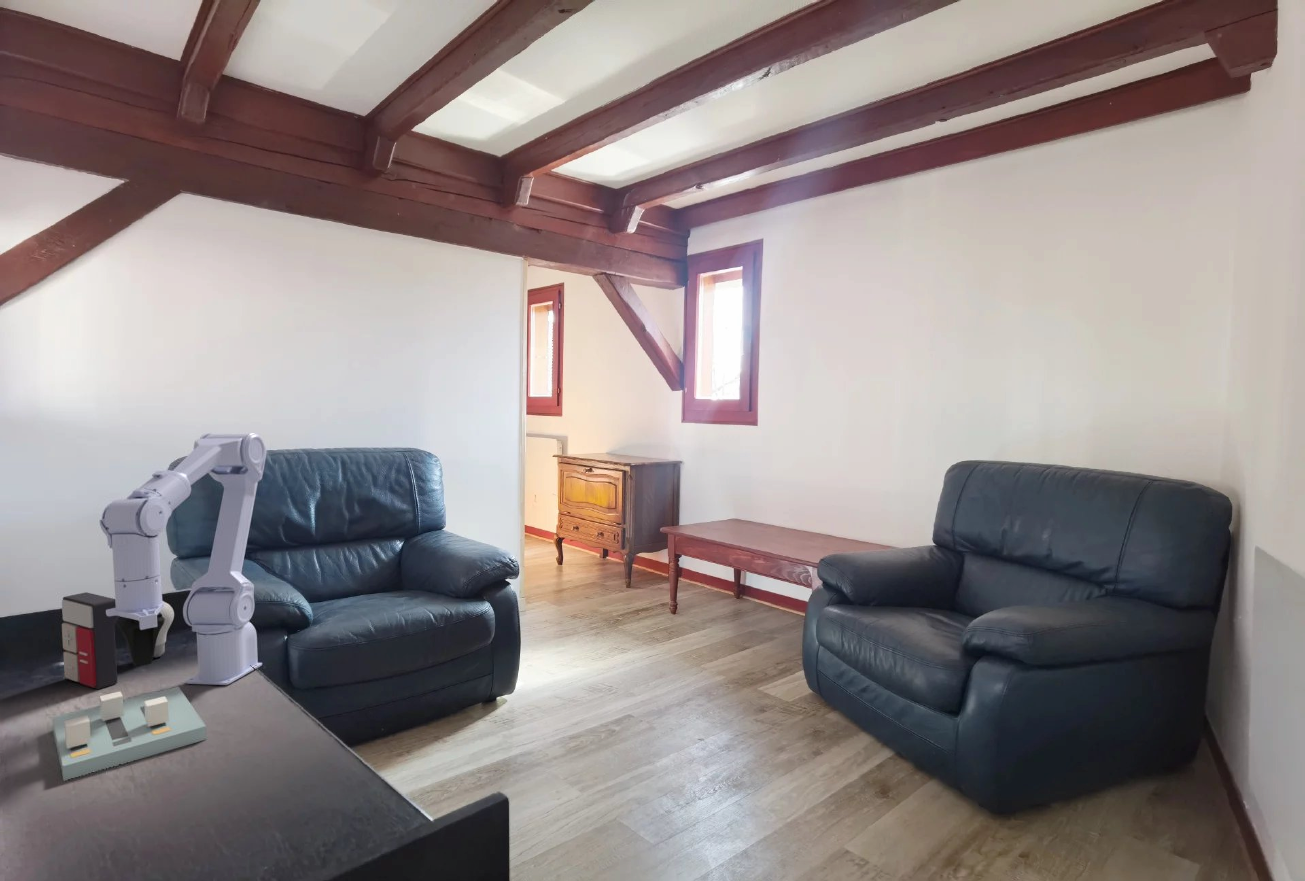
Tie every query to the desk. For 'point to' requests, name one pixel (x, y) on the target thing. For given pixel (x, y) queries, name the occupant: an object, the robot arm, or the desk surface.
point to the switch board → (128, 734)
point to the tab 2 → (111, 706)
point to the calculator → (89, 640)
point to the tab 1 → (77, 731)
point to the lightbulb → (163, 629)
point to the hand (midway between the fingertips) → (142, 664)
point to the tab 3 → (156, 711)
